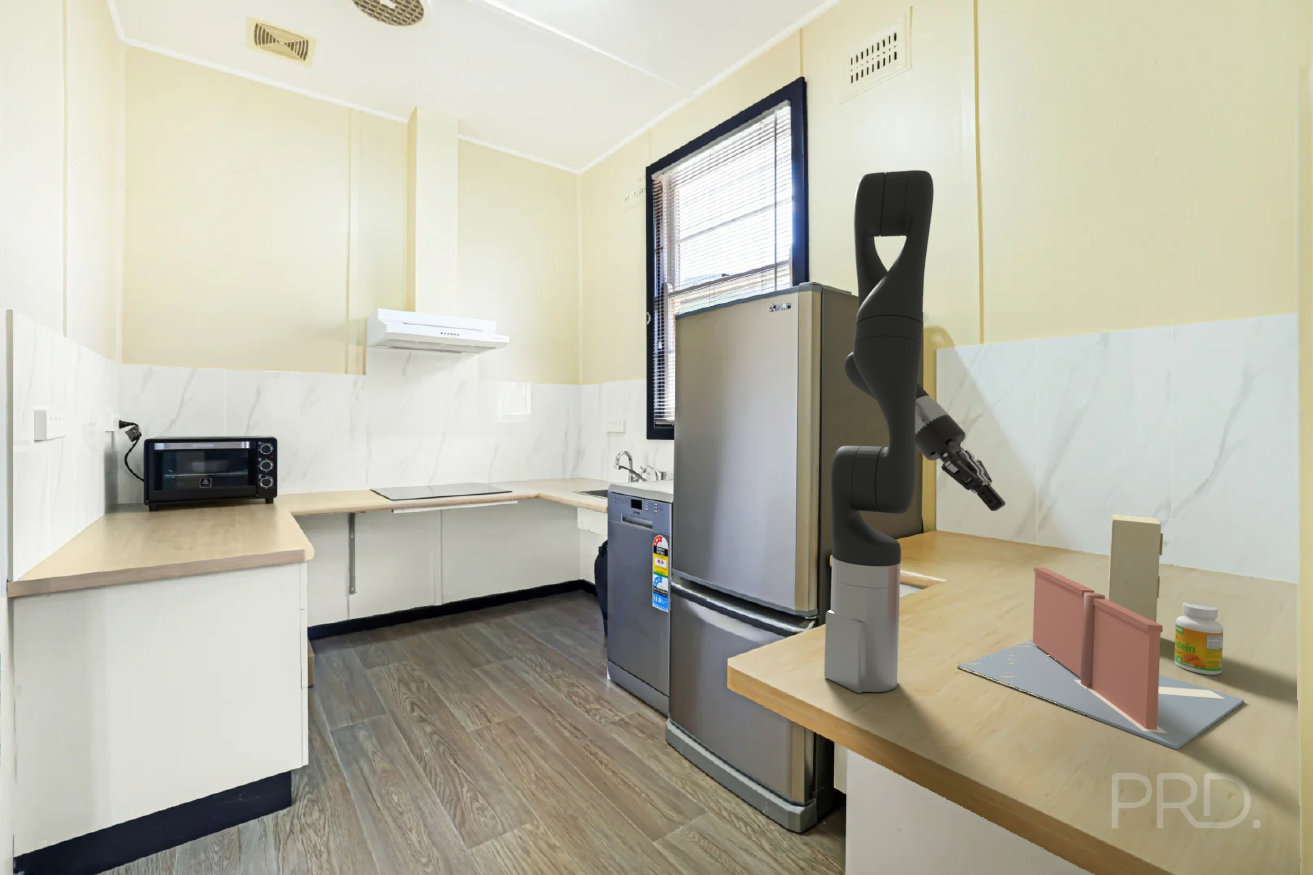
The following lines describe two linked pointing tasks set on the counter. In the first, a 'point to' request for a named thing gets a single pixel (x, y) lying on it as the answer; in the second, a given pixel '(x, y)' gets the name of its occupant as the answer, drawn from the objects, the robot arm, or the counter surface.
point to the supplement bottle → (1199, 639)
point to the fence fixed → (1121, 658)
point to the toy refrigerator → (1135, 563)
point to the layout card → (1178, 701)
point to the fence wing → (1059, 617)
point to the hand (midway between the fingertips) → (999, 507)
